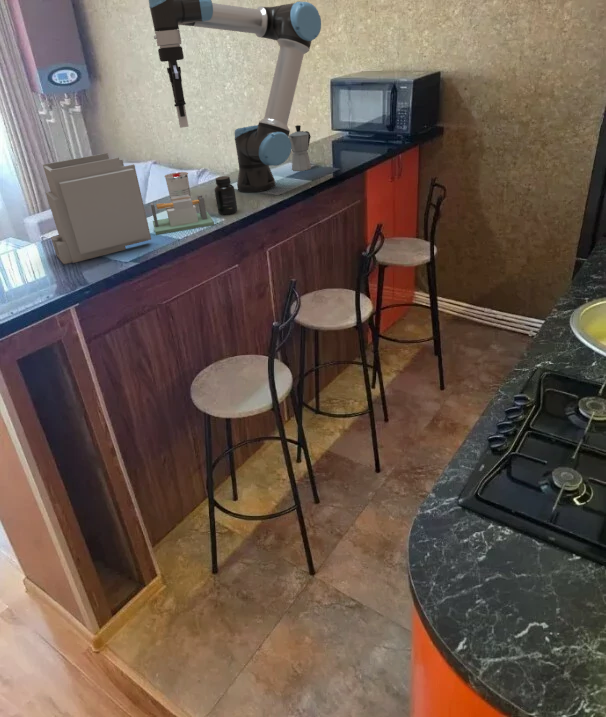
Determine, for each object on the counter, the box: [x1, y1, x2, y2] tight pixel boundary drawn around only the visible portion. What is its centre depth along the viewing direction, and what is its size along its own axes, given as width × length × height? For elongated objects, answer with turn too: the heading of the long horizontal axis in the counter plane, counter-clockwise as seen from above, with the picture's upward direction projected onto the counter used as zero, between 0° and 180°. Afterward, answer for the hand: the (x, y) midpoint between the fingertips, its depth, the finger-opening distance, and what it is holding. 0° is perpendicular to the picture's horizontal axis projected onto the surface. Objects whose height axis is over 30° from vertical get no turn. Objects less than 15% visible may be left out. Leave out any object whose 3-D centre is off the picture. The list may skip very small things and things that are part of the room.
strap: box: [155, 197, 201, 210], centre depth 189 cm, size 15×4×1 cm, turn 107°
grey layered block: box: [42, 152, 152, 265], centre depth 170 cm, size 17×27×26 cm, turn 122°
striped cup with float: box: [164, 171, 192, 203], centre depth 208 cm, size 10×8×12 cm
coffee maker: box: [289, 124, 312, 172], centre depth 248 cm, size 15×9×18 cm, turn 148°
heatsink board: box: [149, 194, 215, 236], centre depth 190 cm, size 19×14×8 cm
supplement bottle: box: [214, 175, 238, 216], centre depth 197 cm, size 7×7×12 cm
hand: (184, 126), depth 191 cm, fingers closed
